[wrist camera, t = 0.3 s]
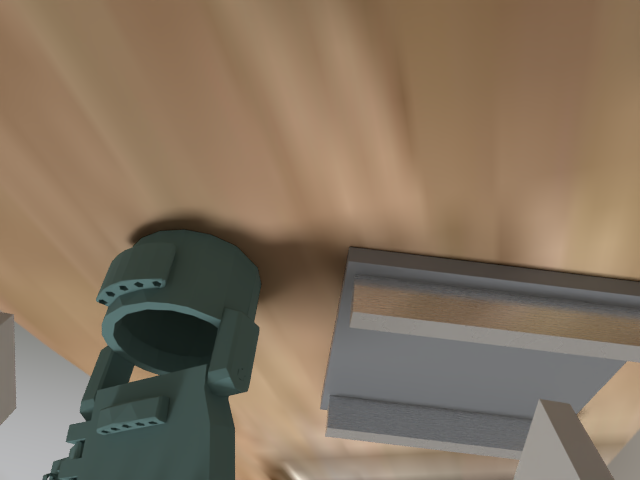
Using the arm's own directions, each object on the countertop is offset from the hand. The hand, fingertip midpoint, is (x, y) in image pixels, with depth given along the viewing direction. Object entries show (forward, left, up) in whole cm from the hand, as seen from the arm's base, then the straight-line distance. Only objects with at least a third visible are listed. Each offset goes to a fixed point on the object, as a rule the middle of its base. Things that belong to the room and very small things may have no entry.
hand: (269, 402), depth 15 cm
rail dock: (+19, +11, -14) cm, 27 cm away
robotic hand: (+15, -8, -15) cm, 23 cm away
